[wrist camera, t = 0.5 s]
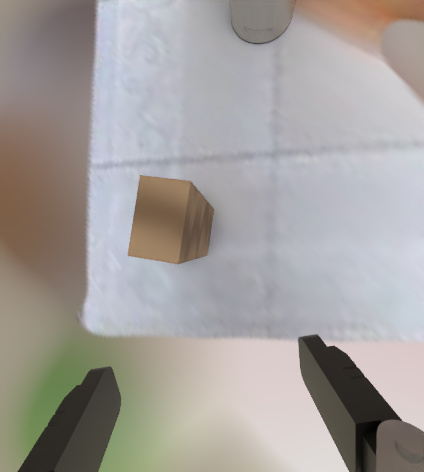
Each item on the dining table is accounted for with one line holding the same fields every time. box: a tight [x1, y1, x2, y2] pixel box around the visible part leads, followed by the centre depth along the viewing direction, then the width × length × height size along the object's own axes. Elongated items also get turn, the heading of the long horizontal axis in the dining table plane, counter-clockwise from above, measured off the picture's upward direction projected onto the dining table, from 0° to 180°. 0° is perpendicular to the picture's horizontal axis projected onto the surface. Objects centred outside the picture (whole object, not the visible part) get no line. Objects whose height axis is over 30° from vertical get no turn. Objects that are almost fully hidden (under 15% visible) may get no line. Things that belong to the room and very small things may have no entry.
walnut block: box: [128, 175, 214, 264], centre depth 27 cm, size 7×4×16 cm, turn 172°
